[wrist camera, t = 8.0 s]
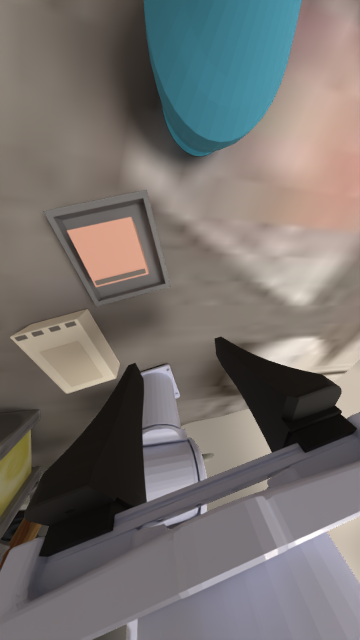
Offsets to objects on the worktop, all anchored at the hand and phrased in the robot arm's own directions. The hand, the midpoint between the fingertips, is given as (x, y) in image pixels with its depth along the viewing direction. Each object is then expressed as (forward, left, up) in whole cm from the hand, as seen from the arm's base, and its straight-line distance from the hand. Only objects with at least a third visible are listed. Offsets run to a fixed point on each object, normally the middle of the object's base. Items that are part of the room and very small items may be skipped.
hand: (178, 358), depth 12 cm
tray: (+9, +3, -9) cm, 13 cm away
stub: (+9, +3, -9) cm, 13 cm away
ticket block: (-1, +13, -9) cm, 16 cm away
